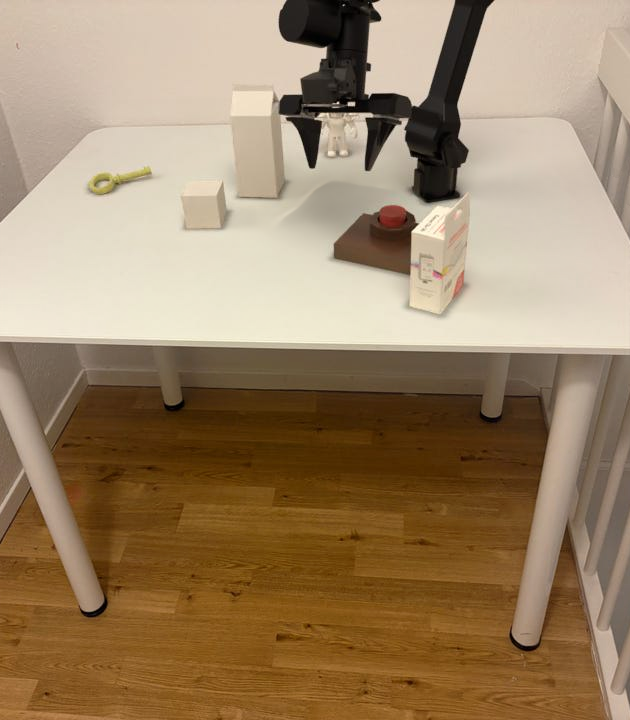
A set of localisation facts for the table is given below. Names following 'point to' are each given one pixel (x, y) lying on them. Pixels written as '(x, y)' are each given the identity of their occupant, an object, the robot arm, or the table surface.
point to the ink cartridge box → (439, 256)
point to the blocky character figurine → (338, 130)
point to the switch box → (377, 243)
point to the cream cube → (204, 204)
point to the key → (115, 179)
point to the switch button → (392, 215)
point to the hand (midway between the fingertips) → (339, 169)
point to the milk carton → (257, 140)
